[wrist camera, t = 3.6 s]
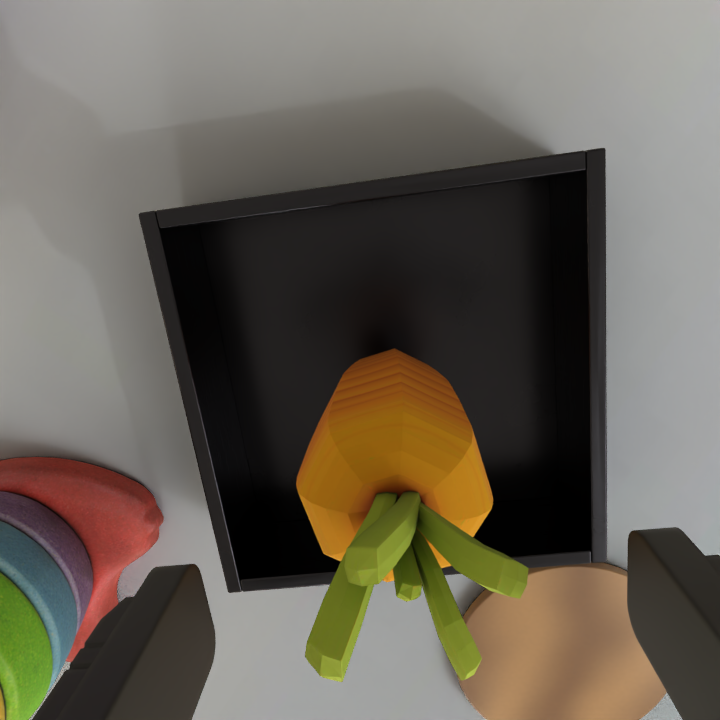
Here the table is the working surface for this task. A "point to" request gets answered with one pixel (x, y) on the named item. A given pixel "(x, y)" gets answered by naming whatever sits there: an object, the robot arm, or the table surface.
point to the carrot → (398, 505)
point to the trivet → (560, 649)
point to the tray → (395, 344)
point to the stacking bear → (61, 565)
